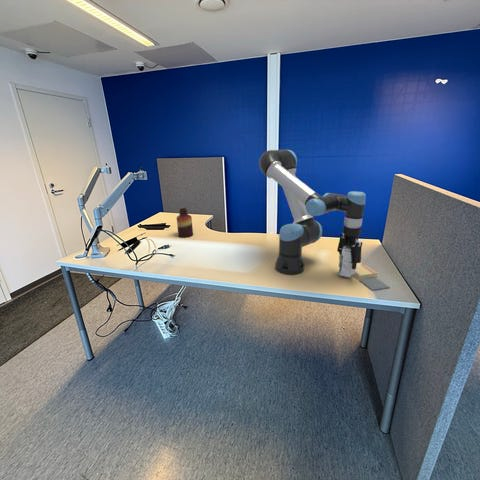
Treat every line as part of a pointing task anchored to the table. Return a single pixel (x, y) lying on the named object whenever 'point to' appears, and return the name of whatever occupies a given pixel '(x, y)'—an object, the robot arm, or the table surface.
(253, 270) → the table surface
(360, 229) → the robot arm
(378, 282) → the stub mat
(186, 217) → the brown cylindrical bottle
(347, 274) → the syrup box
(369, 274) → the board
